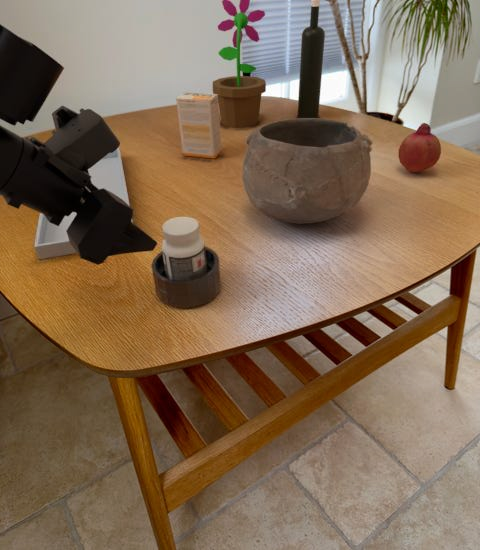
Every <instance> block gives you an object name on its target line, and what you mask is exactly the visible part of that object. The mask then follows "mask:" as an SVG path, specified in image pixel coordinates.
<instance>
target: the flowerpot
mask: <svg viewBox="0 0 480 550" xmlns="http://www.w3.org/2000/svg"><path fill="white" fill-rule="evenodd" d="M250 2H251V0H239V3H238V4H239V5H238V8H239V11H240V12H238V10H237V6H236V5H234V3H233V2H232V1H231V0H222V1H221V3H222V8H223V9H224V11H225V12H226V14H228V15H229V16H232V17H234V18H233V19H231V18H229V19H225V20H222V21H220V23H219V24H218V25H217V29H218V31H221V32H227V31H231V30H232V29H233V28H234V27H236V29H235V30H234V32H233V35H232V45H233V47H232V46H231V45H230V46H224V47H222V48H221V49H220V50H219V51H218V55H219V56H220V57H221V58H222V59H223V60H226V61H229V62H230V61H233V60H235V59H236V75H233V76H226V77H219V78H217V79H215V80H213V81H212V94H218V106H219V115H220V119H221V124H222V125H223V126H226V127H229V128H234V129H235V128H236V129H237V128H248V127H253V126H255V125H257V124H258V123H259V118H260V111H261V110H260V109H261V103H262V94H264V93H266V91H267V82H266V79H264V78H261V77H258V76H248V75H241V72H243V73H244V74H250V73H252V72H254V71H256V70H257V67H256V66H254V65H251V64H249V63H245V62H244V63H241V44H242V41H243V36H244V35H243V31H242V29H244V32H245V35H246V36H247V37H248V38H249V39H250V40H251V41H253V42H255V43H258V42H259V41H260V36H259V32H258V31H257V30H256V29H255V28H254V26H252V25H249V23H248V22H251V23H256V22H259V21H261V20H262V19H263V18H264V17H265V16H266V13H265V11H264V10H261V9H256V10H253V11H250V12H249V14H248V15H247V14H246V12H247V11H248V10H249V8H250V7H249V6H250Z"/></svg>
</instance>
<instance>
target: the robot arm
mask: <svg viewBox="0 0 480 550" xmlns="http://www.w3.org/2000/svg"><path fill="white" fill-rule="evenodd" d="M64 69H65V67H64V66H63V65H62V64H60V63H59V62H58V61H57V60H56V59H54V58H53V57H52V56H50V55H49V54H47V53H46V52H45V51H44V50H42V49H41V48H40V47H38V46H37V45H36V44H34V43H32V42H31V41H29V40H27V39H24V38H22V37H21V36H18V35H17V34H16V33H14V32H13V31H12V30H10V29H8V28H6V27H5V26H4V25H2V24H1V23H0V120H1V121H3V122H5V123H7V124H9V125H11V126H14V127H16V125H17V124H18V123H19V124H21V125H25V124H26V121H29V122H31V123H33V122H34V120H35V119H36V117H37V115H38V114H39V112H40V111H41V109H42V107H43V106H44V103H45V102H46V100H47V98H48V97H49V95H50V94H51V91H52V90H53V88H54V87H55V85H56V83H57V82H58V80H59V78H60V76H61V74H62V73H63V71H64ZM51 117H52V121H53V125H54V129H53V130H51V134H52V136H51V137H49V138H48V139H47V140H46V141H45V142H43V141H42V140H39V139H38V138H36V137H34V136H31V137H28V136H26V137H23V136H20V135H19V134H17V133H15V132H13V131H12V130H10V129H8V128H6V127H5V126H3V125H1V124H0V196H1V197H3V200H4V201H5V202H6V204H7V205H8V206H10V207H12V208H15V209H18V210H19V209H20V207H21V206H24V207H26V208H29V209H31V210H33V211H35V212H37V213H39V214H40V213H42V214H44V215H45V217H46V218H47V220H48V221H49V222H50V223H52V224H54V225H57V226H59V225H60V223H61V222H62V220H63V218H64V217H65V216H69V215H70V214H71V213H72V212H76V213H77V214H76V216H75V218H74V219H73V221H72V222H71V224H70V226H69V227H68V229H67V231H66V232H67V235H68V238H69V241H70V243H71V245H72V246H73V248H74V249H75V250H76V252H77V253H76V254H78V256H79V257H80V259H82V260H84V261H87V262H88V263H89V262H90V263H91V264H95V265H97V266H98V265H102V264H104V263H105V261H106V260H107V259H108V257H113V256H117V255H123V254H134V253H142V252H152V251H154V250H155V248H156V247H157V245H158V242H157V241H156V240H155V239H154V238H153V237H151V236H150V235H149V234H148V233H147V232H145V231H144V230H143V229H141V228H140V227H139V226H138V225H137V224H136V223H134V221H133V222H131V219H132V220H133V216H134V209H133V208H132V207H131V205H130V206H129V205H128V204H127V203H126V202H124V201H123V200H122V199H121V198H119V197H118V196H116V195H115V194H113V193H111V192H110V191H108V190H106V189H104V188H103V189H98V188H97V187H96V186H95V185H93V184H92V182H91V176H90V175H89V172H88V169H89V168H91V167H92V166H94V165H95V164H96V163H97V162H99V161H100V160H101V159H102V158H103V157H105V156H106V155H107V154H108V153H113V152H114V151H115V150H116V149H117V148H118V147H119V148H120V145H121V141H120V140H119V139H118V137H117V136H116V134H115V133H114V131H112V129H111V128H110V126H109V125H108V123H107V122H106V120H105V119H104V118H103V117H102V115H100V114H99V113H97V112H95V111H94V110H92V109H91V108H87V109H84V108H82V107H81V108H80V109H79V113H78V112H77V111H75V110H72V109H71V108H68V107H67V106H64V105H61V106H59V107H58V108H57V109H55V110H54V111H52V113H51Z"/></svg>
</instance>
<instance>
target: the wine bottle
mask: <svg viewBox="0 0 480 550" xmlns="http://www.w3.org/2000/svg"><path fill="white" fill-rule="evenodd" d="M320 7H321V0H310V21H309V26H307V27H305V28H304V29H303V30H302V33H301V42H300V43H301V45H300V60H299V61H300V64H299V82H298V102H297V119H299V118H319V112H320V99H321V88H322V76H323V75H322V74H323V63H324V50H325V40H326V39H325V37H326V31H325V30H324V29H323V28H322V26H319V17H320V15H319V14H320Z"/></svg>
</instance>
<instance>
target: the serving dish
mask: <svg viewBox="0 0 480 550" xmlns="http://www.w3.org/2000/svg"><path fill="white" fill-rule="evenodd" d="M88 172H89V175H90V176H91V182H92V184H93V185H95V186H96V187H97V188H98V189H103V188H104V189H106V190H108V191H110V192H111V193H113V194H115V195H116V196H118V197H119V198H121V199H122V200H123V201H124V202H126V203H127V204H128V205H129V206H130V207H131V204H130V199H129V198H130V197H129V193H128V187H127V182H126V176H125V171H124V166H123V160H122V155H121V149H120V146H119V147H118V148H117V149H116V150H115V151H114V152H113V153H108V154H107V155H106V156H105V157H103V158H102V159H101V160H100V161H99V162H97V163H96V164H95V165H94V166H92V167H91V168H89V169H88ZM76 214H77V213H76V212H72V213H71V214H70V215H69V216H65V217H64V218H63V220H62V222H61V223H60V225H59V226H57V225H54V224H52V223H50V222H49V221H48V220H47V218H46V217H45V215H44V214H42V213H40V212H39V217H38V221H37V228H36V233H35V237H34V238H35V240H34V245H33V248H34V251H35V254H36V256H37V259H38V260H45V259H50V258H51V259H52V258H56V257H61V256H67V255H74V254H78V253H77V252H76V250H75V249H74V248H73V246H72V245H71V243H70V241H69V238H68V235H67V232H66V231H67V229H68V227H69V226H70V224H71V222H72V221H73V219H74V218H75V216H76ZM131 222H133V223H134V220H133V218H132V219H131Z"/></svg>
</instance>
